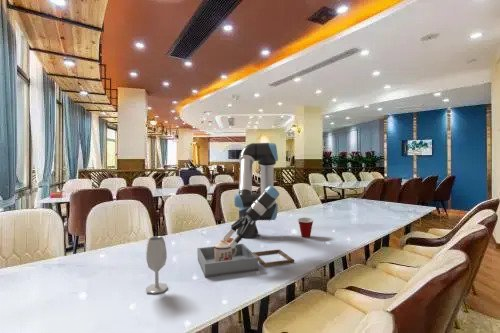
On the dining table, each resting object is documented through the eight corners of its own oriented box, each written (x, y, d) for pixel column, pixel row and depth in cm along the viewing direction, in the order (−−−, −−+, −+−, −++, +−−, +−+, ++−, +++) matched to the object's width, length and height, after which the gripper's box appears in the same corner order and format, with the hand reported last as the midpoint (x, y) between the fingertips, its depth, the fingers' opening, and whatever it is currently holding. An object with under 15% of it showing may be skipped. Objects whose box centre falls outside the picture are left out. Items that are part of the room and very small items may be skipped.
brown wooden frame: (252, 255, 159) (252, 252, 159) (279, 251, 164) (279, 249, 164) (263, 266, 141) (263, 263, 141) (294, 262, 146) (294, 259, 146)
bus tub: (197, 259, 153) (197, 248, 153) (242, 254, 161) (242, 243, 160) (205, 277, 129) (204, 264, 129) (257, 270, 137) (257, 257, 137)
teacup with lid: (219, 267, 138) (218, 243, 138) (211, 262, 146) (210, 239, 146) (240, 262, 144) (240, 239, 144) (232, 257, 152) (231, 235, 152)
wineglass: (148, 285, 122) (147, 235, 121) (169, 284, 122) (169, 235, 122) (142, 295, 113) (141, 241, 112) (165, 293, 114) (164, 240, 113)
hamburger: (222, 246, 175) (222, 235, 175) (237, 247, 173) (237, 236, 173) (217, 251, 166) (217, 240, 166) (234, 252, 164) (234, 240, 164)
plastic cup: (296, 238, 193) (295, 220, 192) (299, 234, 203) (299, 217, 202) (312, 239, 189) (312, 221, 188) (315, 235, 199) (315, 218, 198)
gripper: (243, 202, 160) (217, 232, 156) (258, 210, 136) (228, 245, 132) (253, 211, 162) (227, 240, 158) (269, 220, 138) (239, 255, 134)
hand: (227, 243), depth 145 cm, fingers open, 13 cm apart
